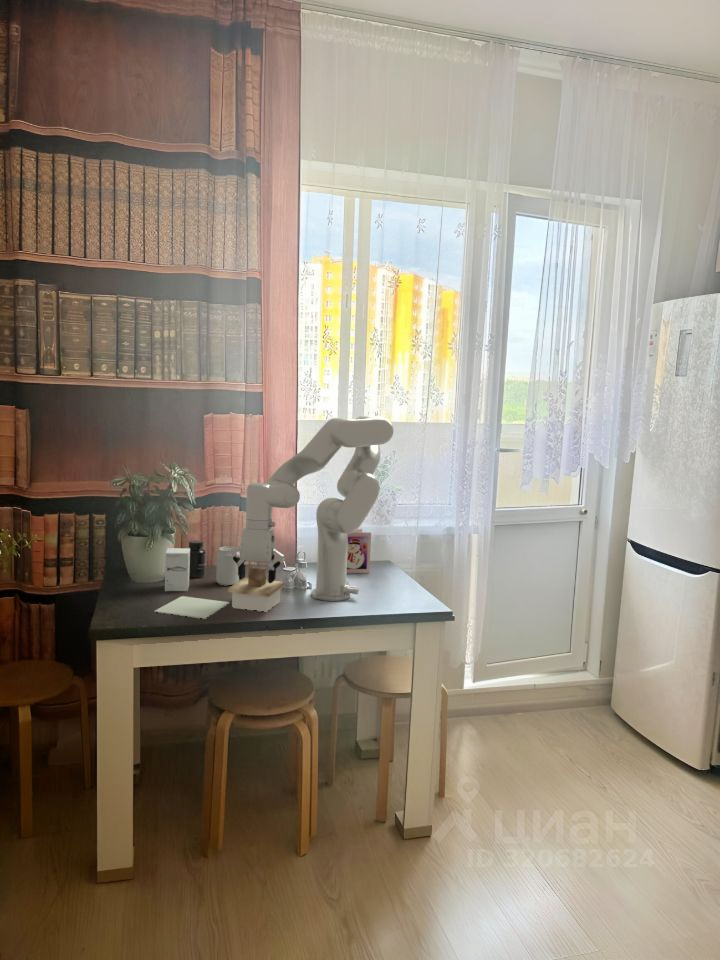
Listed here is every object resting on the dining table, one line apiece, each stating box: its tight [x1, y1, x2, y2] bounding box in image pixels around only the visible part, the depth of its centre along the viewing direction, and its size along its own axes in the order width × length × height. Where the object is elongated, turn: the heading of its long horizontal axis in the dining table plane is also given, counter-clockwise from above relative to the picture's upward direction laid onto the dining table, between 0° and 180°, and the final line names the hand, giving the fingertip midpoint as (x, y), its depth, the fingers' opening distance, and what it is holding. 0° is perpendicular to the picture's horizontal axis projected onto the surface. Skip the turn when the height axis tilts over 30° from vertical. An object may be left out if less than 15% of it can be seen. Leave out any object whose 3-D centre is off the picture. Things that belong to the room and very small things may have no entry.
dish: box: [231, 589, 281, 613], centre depth 222 cm, size 11×11×5 cm
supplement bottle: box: [187, 539, 207, 579], centre depth 251 cm, size 7×7×12 cm
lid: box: [227, 566, 286, 597], centre depth 221 cm, size 13×13×6 cm
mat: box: [154, 595, 230, 620], centre depth 217 cm, size 16×16×1 cm
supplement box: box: [164, 547, 190, 592], centre depth 235 cm, size 7×7×13 cm
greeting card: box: [346, 528, 372, 574], centre depth 266 cm, size 11×7×15 cm, turn 101°
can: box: [215, 546, 241, 587], centre depth 243 cm, size 8×8×12 cm
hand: (256, 580), depth 221 cm, fingers open, 9 cm apart
